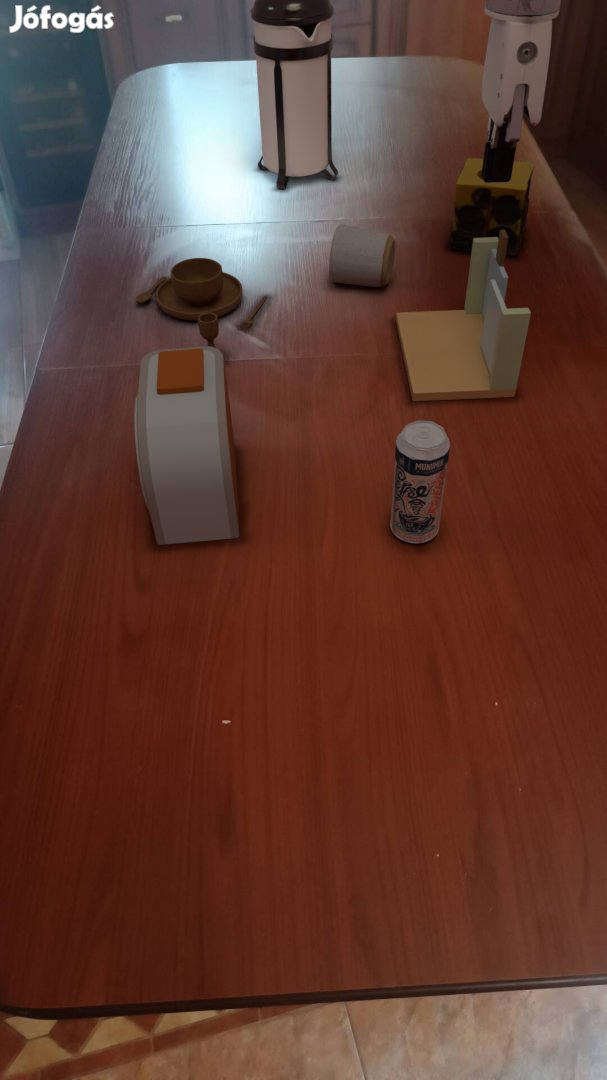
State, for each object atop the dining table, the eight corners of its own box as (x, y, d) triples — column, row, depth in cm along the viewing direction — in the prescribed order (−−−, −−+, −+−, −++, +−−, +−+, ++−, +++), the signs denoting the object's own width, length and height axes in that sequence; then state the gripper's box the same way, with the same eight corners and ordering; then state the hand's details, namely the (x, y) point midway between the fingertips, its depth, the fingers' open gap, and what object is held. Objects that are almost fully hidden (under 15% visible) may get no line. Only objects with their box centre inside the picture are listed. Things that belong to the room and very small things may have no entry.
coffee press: (356, 162, 144) (360, -41, 122) (315, 197, 134) (312, -17, 112) (272, 148, 150) (261, -48, 128) (227, 180, 140) (207, -26, 118)
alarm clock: (158, 449, 89) (136, 343, 79) (234, 443, 90) (222, 337, 80) (154, 545, 79) (128, 437, 69) (240, 537, 79) (226, 429, 69)
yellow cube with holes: (525, 228, 124) (537, 161, 117) (517, 258, 117) (529, 189, 110) (459, 221, 126) (467, 155, 119) (448, 250, 120) (455, 182, 112)
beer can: (388, 544, 78) (394, 449, 69) (392, 510, 81) (398, 415, 73) (437, 548, 77) (450, 453, 69) (439, 514, 81) (452, 419, 72)
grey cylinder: (385, 298, 110) (388, 244, 105) (327, 291, 112) (327, 238, 107) (398, 263, 118) (402, 211, 112) (344, 257, 119) (345, 206, 114)
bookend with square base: (485, 316, 106) (497, 236, 99) (514, 397, 94) (531, 313, 86) (395, 320, 106) (400, 241, 99) (412, 401, 94) (419, 317, 86)
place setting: (275, 289, 113) (273, 249, 109) (223, 367, 100) (218, 326, 96) (162, 274, 117) (156, 235, 113) (98, 347, 104) (88, 306, 100)
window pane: (486, 313, 104) (500, 219, 95) (497, 343, 99) (513, 247, 90) (481, 313, 104) (495, 219, 95) (492, 343, 99) (508, 247, 90)
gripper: (580, 14, 76) (542, 206, 89) (542, -23, 87) (513, 154, 100) (501, 17, 76) (475, 208, 89) (473, -21, 86) (453, 156, 100)
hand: (495, 179), depth 95 cm, fingers closed
